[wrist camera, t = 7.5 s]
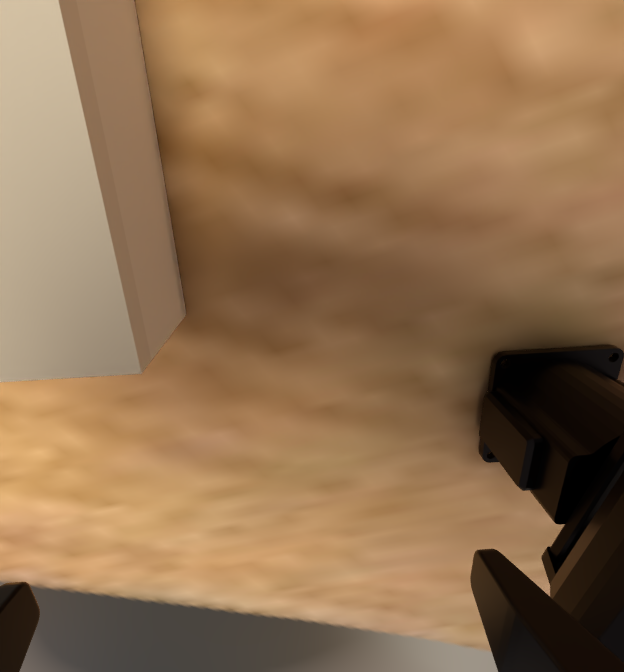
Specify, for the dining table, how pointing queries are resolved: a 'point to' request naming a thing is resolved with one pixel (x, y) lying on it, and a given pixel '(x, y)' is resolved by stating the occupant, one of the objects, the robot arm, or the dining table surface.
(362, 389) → the dining table surface
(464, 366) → the dining table surface
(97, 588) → the dining table surface
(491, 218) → the dining table surface
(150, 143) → the moneybox
